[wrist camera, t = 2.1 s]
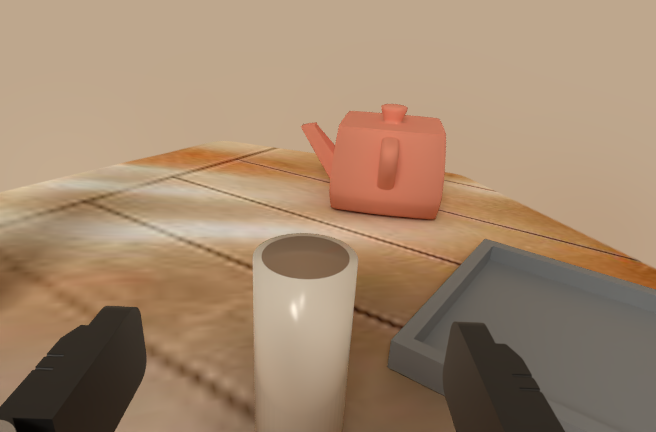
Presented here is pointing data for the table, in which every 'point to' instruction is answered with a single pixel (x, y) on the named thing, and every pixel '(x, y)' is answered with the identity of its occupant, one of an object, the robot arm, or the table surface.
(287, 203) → the table surface
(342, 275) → the cream cup
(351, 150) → the teapot
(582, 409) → the charcoal tray
